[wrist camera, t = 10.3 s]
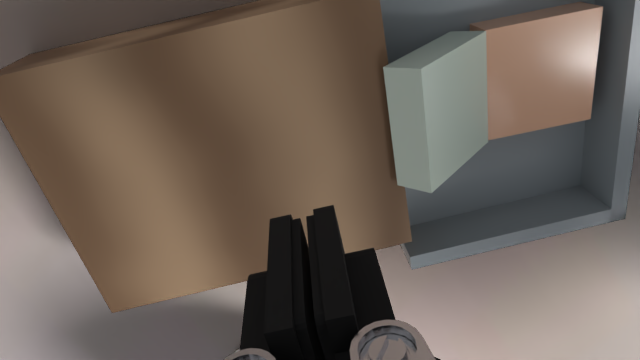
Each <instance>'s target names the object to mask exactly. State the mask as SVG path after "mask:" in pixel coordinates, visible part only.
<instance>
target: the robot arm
mask: <svg viewBox="0 0 640 360" xmlns="http://www.w3.org/2000/svg"><path fill="white" fill-rule="evenodd" d="M313 214H314V215H311V216H306V222H307V234H308V244H307V240H306V236H305V233H304V229H303V226H302V222H301V219H300V218H297V219H293V218H292V215H291V214H290V215H285V216H281V217H276V218H272V219H270V223H269V242H268V261H267V271H263V272H259V273H254V274H250V275H249V276H248V280H247V289H246V299H245V308H244V317H243V326H242V335H241V345H240V350H239V351H237V352H235V353H233V354H231V355H229V356H227V357H226V358H225V359H223V360H440V359H438V358H436V357H434V356H433V354H432V352H431V351H430V349H429V347H428V345H427V344H426V342H425V340H424V338H423V337H422V335H421V334H420V333H419V332H418V330H417V329H416V328H415V327H413V326H411V325H410V324H408V323H406V322H402V321H399V320H395V317H394V314H393V310H392V307H391V303H390V300H389V297H388V293H387V290H386V286H385V283H384V280H383V276H382V273H381V270H380V266H379V263H378V259H377V256H376V253H375V250H374V248H369V249H364V250H360V251H355V252H351V253H346V254H345V251H344V247H343V243H342V238H341V234H340V230H339V225H338V221H337V217H336V213H335V208H334V205H330V206H326V207H321V208H317V209H313Z"/></svg>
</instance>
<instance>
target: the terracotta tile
mask: <svg viewBox="0 0 640 360" xmlns="http://www.w3.org/2000/svg"><path fill="white" fill-rule="evenodd" d="M602 14H603V6H599V5H594V4H589V3H584V2H575V3H570V4H565V5H560V6H555V7H550V8H546V9H541V10H536V11H531V12H526V13H521V14H516V15H511V16H506V17H501V18H496V19H491V20H486V21H481V22H476V23H471V24H470V31H486V49H487V104H488V140H492V139H497V138H502V137H507V136H512V135H516V134H521V133H526V132H531V131H536V130H540V129H545V128H550V127H555V126H560V125H564V124H569V123H574V122H579V121H584V120H588V119H591V111H592V102H593V93H594V84H595V76H596V67H597V58H598V49H599V40H600V31H601V23H602Z"/></svg>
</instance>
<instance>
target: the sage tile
mask: <svg viewBox="0 0 640 360" xmlns="http://www.w3.org/2000/svg"><path fill="white" fill-rule="evenodd" d="M383 71H384V79H385V87H386V95H387V103H388V112H389V120H390V128H391V136H392V144H393V153H394V161H395V169H396V177H397V185H399V186H403V187H407V188H411V189H416V190H420V191H424V192H428V193H432V192H434V191H435V190H436V189H437V188H438V187H439V186H440V185H441V184H442V183H443V182H445V181H446V180H447V179H448V178H449V177H450V176H451V175H452V174H453V173H455V172H456V171H457V170H458V169H459V168H460V167H461V166H462V165H463V164H464V163H466V162H467V161H468V160H469V159H470V158H471V157H472V156H473V155H474V154H475V153H477V152H478V151H479V150H480V149H481V148H482V147H483V146H484V145H485V144H486V143H488V104H487V49H486V31H450V32H448V33H446V34H445V35H443V36H441V37H439V38H437V39H435V40H433V41H431V42H430V43H428V44H426V45H424V46H422V47H420V48H418V49H416V50H414V51H413V52H411V53H409V54H407V55H405V56H403V57H401V58H399V59H398V60H396V61H394V62H392V63H390V64H388V65H386V66H384V67H383Z"/></svg>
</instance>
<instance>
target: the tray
mask: <svg viewBox="0 0 640 360" xmlns="http://www.w3.org/2000/svg"><path fill="white" fill-rule="evenodd" d="M575 2H584V3H589V4H594V5H599V6H603V14H602V23H601V31H600V40H599V49H598V58H597V67H596V76H595V84H594V93H593V102H592V111H591V119H588V120H584V121H579V122H574V123H569V124H564V125H560V126H555V127H550V128H545V129H540V130H536V131H531V132H526V133H521V134H516V135H512V136H507V137H502V138H497V139H492V140H488V143H486V144H485V145H484V146H483V147H482V148H481V149H480V150H479V151H478V152H477V153H475V154H474V155H473V156H472V157H471V158H470V159H469V160H468V161H467V162H466V163H464V164H463V165H462V166H461V167H460V168H459V169H458V170H457V171H456V172H455V173H453V174H452V175H451V176H450V177H449V178H448V179H447V180H446V181H445V182H443V183H442V184H441V185H440V186H439V187H438V188H437V189H436V190H435V191H434V192H432V193H428V192H424V191H420V190H416V189H411V188H407V187H405V192H406V199H407V207H408V214H409V221H410V229H411V236H412V242H408V243H403V244H400V245H401V247H402V249H403V252H404V254H405V256H406V258H407V260H408V263H409V265H410V267H411V269H417V268H421V267H425V266H429V265H433V264H438V263H442V262H446V261H450V260H454V259H458V258H463V257H467V256H471V255H475V254H479V253H484V252H488V251H492V250H496V249H500V248H505V247H509V246H513V245H517V244H521V243H525V242H530V241H534V240H538V239H542V238H546V237H551V236H555V235H559V234H563V233H567V232H572V231H576V230H580V229H584V228H588V227H593V226H597V225H601V224H605V223H609V222H613V221H618V220H622V219H625V216H626V209H627V202H628V194H629V187H630V179H631V172H632V164H633V157H634V149H635V142H636V135H637V127H638V120H639V112H640V0H380V5H381V13H382V20H383V28H384V35H385V42H386V50H387V57H388V64H390V63H392V62H394V61H396V60H398V59H399V58H401V57H403V56H405V55H407V54H409V53H411V52H413V51H414V50H416V49H418V48H420V47H422V46H424V45H426V44H428V43H430V42H431V41H433V40H435V39H437V38H439V37H441V36H443V35H445V34H446V33H448V32H450V31H470V24H471V23H476V22H481V21H486V20H491V19H496V18H501V17H506V16H511V15H516V14H521V13H526V12H531V11H536V10H541V9H546V8H550V7H555V6H560V5H565V4H570V3H575Z"/></svg>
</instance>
